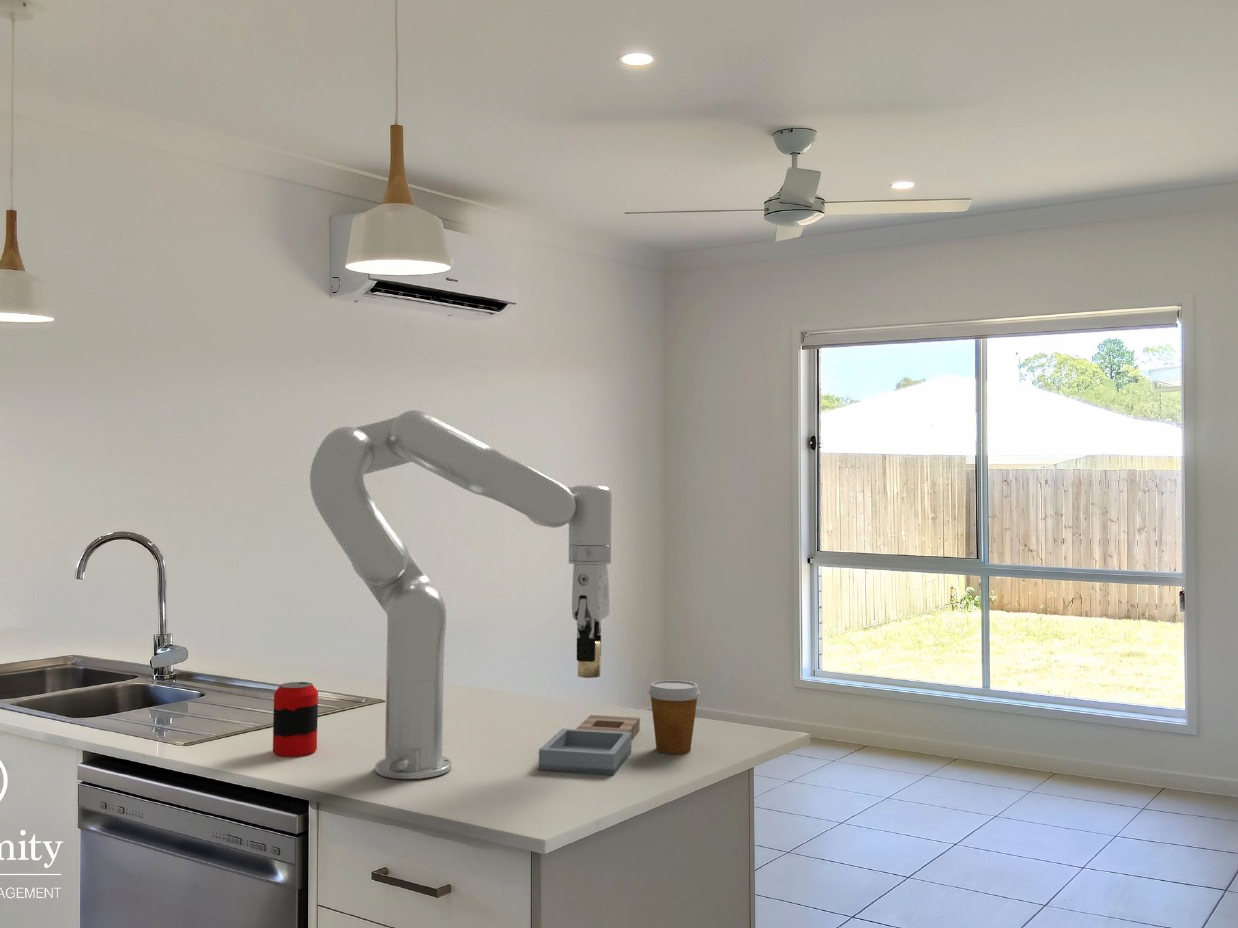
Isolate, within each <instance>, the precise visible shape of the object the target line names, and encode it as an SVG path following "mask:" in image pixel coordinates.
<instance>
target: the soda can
mask: <svg viewBox="0 0 1238 928" xmlns="http://www.w3.org/2000/svg"><path fill="white" fill-rule="evenodd" d="M318 707H319V691H318V690H317V688H316V687H315V686H314V685H313V683H311V682H309V681H307V682H306V681H292V682H285V683H281V684H280V685H279V686H278V687H277V689H276V690H275V691H274V693H273V719H272V720H273V722H272V723H273V724H272V725H273V729H272V753H273V754H274V755H275V756H277V757H281V758H299V757H304V756H305V757H306V756H310V755H312V754H315V753H316V751H317V749H318V716H319V715H318V713H319V712H318V711H319V710H318V709H319V708H318Z"/></svg>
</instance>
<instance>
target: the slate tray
mask: <svg viewBox="0 0 1238 928" xmlns="http://www.w3.org/2000/svg"><path fill="white" fill-rule="evenodd" d="M632 741H633V740H632V733H629V732H613V731H596V730H579V729H576V728H561V729H560V730H559V731H558V732H557V733H556V734H554V736H552V737H551V738H550V739H549V740H548V741H547V742H546V743H545V744H544V745H542V746H541V747H540V748H539V749H538V771H542V772H543V771H544V772H559V773H575V774H587V775H588V774H589V775H602V776H614V775H616V773H617V772H618V770H619V769H620V768H621V766H623V764H624V763H625V762H626V760H627V759H628V757H629V756H630V755H631V753H632Z"/></svg>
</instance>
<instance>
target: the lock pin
mask: <svg viewBox="0 0 1238 928" xmlns="http://www.w3.org/2000/svg"><path fill="white" fill-rule="evenodd" d="M601 655H602V640H601V641H597V640H595V661H594V662H583V661H577V677H579V678H584V679H590V678H594V679H595V678H599V677H601V658H602V657H601Z"/></svg>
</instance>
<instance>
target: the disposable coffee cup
mask: <svg viewBox="0 0 1238 928" xmlns="http://www.w3.org/2000/svg"><path fill="white" fill-rule="evenodd" d="M647 692H648V694H649V697H650V700H651V701H650V702H651V711H652V712H651V713H652V721H653V729H654V730H653V731H654V738H655V739H654V740H655V748H656V751H658V752H659V753H663V754H668V755H683V754H686V753H690V752H691V748H692V740H693V733H694V727H695V726H694V725H695V719H696V718H695V717H696V710H697V703H698V698H699V695H700V694H701V692H700V690H699V685H698V684H697V683H696V682H693V681H687V680H675V679H673V680H671V679H668V680H667V679H666V680H656V681H653V682H651V684H650V688H649V689H648V691H647Z"/></svg>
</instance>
